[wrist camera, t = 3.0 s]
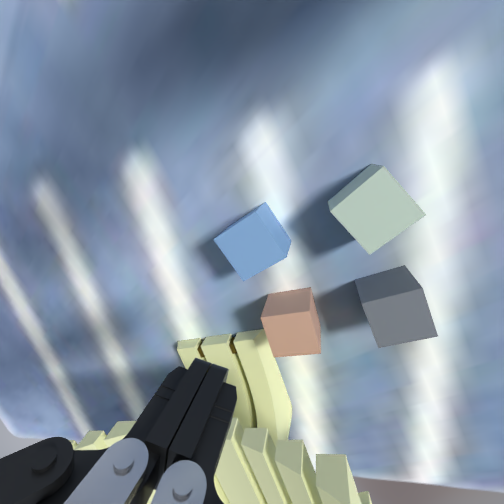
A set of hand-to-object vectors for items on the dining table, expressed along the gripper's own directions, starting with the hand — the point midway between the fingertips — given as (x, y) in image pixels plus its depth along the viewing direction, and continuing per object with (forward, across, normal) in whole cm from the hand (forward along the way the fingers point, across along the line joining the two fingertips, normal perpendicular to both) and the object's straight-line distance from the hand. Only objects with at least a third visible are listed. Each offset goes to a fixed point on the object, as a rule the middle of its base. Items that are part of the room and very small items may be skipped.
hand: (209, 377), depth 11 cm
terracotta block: (+19, -4, +7) cm, 21 cm away
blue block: (+19, +2, -1) cm, 19 cm away
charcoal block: (+19, -13, +2) cm, 23 cm away
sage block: (+19, -8, -6) cm, 22 cm away
